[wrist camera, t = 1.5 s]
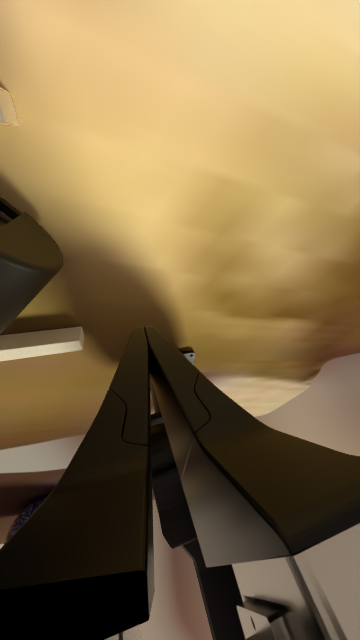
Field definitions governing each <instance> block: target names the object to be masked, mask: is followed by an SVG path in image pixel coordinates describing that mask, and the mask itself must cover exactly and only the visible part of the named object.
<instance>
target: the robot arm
mask: <svg viewBox="0 0 360 640" xmlns="http://www.w3.org/2000/svg"><path fill="white" fill-rule="evenodd" d="M194 359H195V353H194V351H185V352H180V351H179V350H178V349H177V348H176V347H175V346H174V345H173V344H172V343H171V342H170V341H169V340H168V339H167V338H166V337H165V336H164V335H163V334H162V333H161V332H160V331H159V330H157V329H156V328H155V327H154V326H153V325H151V326H145V327H135V328H134V329H133V332H132V334H131V336H130V339H129V341H128V344H127V346H126V348H125V351H124V353H123V356H122V358H121V360H120V363H119V365H118V368H117V370H116V372H115V375H114V377H113V380H112V382H111V384H110V387H109V390H108V391H107V394H106V396H105V399H104V401H103V403H102V405H101V407H100V409H99V412H98V414H97V415H96V417H95V419H94V421H93V423H92V425H91V427H90V429H89V430H88V432H87V434H86V436H85V437H84V439H83V441H82V443H81V445H80V446H79V448H78V450H77V451H76V453H75V455H74V457H73V459H72V460H71V462H70V464H69V466H68V467H67V469H66V471H65V472H64V474H63V476H62V477H61V479H60V480H59V482H58V483H57V485H56V486H55V488H54V489H53V491H52V492H51V493H50V494H49V496H48V497H47V498H46V499H45V500H44V502H43V503H42V504H41V505H40V506H39V507H38V508H37V509H36V510H35V511H34V513H33V514H32V515H31V516H30V517H29V518H28V519H27V520H26V521H25V522H24V524H23V525H22V526H21V527H20V528H19V529H18V530H17V531H16V532H15V534H14V535H13V536H12V537H11V538H10V539H9V540H8V541H7V542H6V543H5V545H4V546H3V547H2V548H1V549H0V640H141V626H140V624H142V623H144V622H146V621H148V620H149V616H150V611H151V606H152V601H153V595H154V591H155V590H154V589H155V588H154V551H153V508H152V507H153V505H152V491H153V493H154V497H155V500H156V504H157V509H158V513H159V517H160V523H161V529H162V533H163V536H164V537H165V539H166V541H167V542H168V544H169V545H170V547H171V548H172V549H175V548H177V547H179V546H181V547H182V548H183V549H184V550H185V551H186V553H187V554H188V555H189V556H190V557H191V558H192V560H193V562H194V566H195V569H196V573H197V577H198V581H199V585H200V589H201V593H202V597H203V601H204V605H205V609H206V614H207V617H208V621H209V626H210V630H211V633H212V638H213V640H360V456H354V455H349V454H345V453H342V452H338V451H335V450H333V449H330V448H327V447H324V446H321V445H318V444H315V443H312V442H309V441H306V440H303V439H300V438H297V437H294V436H292V435H289V434H286V433H283V432H280V431H277V430H274V429H272V428H270V427H268V426H267V425H265V424H263V423H262V422H260V421H259V420H257V419H255V418H254V417H253V416H252V415H251V414H249V413H248V412H247V411H246V410H244V409H243V408H242V407H241V406H239V405H238V404H237V403H236V402H234V401H233V400H232V399H230V398H229V397H228V396H227V395H226V394H224V393H223V392H222V391H221V390H219V389H218V388H217V387H216V386H215V385H214V384H213V383H212V382H211V381H209V380H208V379H207V378H206V377H205V376H204V375H203V374H202V373H201V372H200V371H199V370H198V369H197V368H196V367H195V366H194ZM150 390H151V393H152V398H153V404H154V409H155V414H152V415H150Z"/></svg>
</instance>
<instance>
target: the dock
mask: <svg viewBox="0 0 360 640" xmlns="http://www.w3.org/2000/svg"><path fill="white" fill-rule="evenodd" d="M0 124H3V125H12V126H20V125H19V121H18V118H17V115H16V112H15V108H14V105H13V102H12V99H11V95H10V93H9V92H7V91H6V90H4V89H3V88H1V87H0ZM83 342H84V333H83V330H82V326H81V327H72V328H63V329H54V330H45V331H36V332H26V333H17V334H8V335H0V361H5V360H13V359H20V358H27V357H34V356H42V355H49V354H56V353H63V352H71V351H78V350H82V349H83Z"/></svg>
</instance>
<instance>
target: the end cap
mask: <svg viewBox="0 0 360 640" xmlns="http://www.w3.org/2000/svg"><path fill="white" fill-rule="evenodd" d="M62 265H63V256H62V253H61V251H60V249H59V247H58V245H57V244H56V242H55V241H54V240H53V239H52V237H51V236H50V235H49V234H48V233H47V232H46V231H45V230H44V229H43V227H41V226H40V225H39V224H38V223H37V222H36V221H35V220H34V219H33V218H31V217H30V216H29V215H28V214H26V213H25V212H24V213H23V214H22V213H21V212H20V211H18V210H17V209H16V208H14V207H13V206H12V205H10V204H9V203H8V202H7V201H5V200H4V199H3V198H1V197H0V334H1V333H2V332H3V331H4V330H5V329H6V328H7V327H8V326H9V325H10V324H11V322H12V321H13V320H14V319H15V318H16V317H17V316H18V315H19V314H20V313H21V312H22V310H23V309H24V308H25V307H26V306H27V305H28V304H29V303H30V302H31V301H32V300H33V298H34V297H35V296H36V295H37V294H38V293H39V292H40V291H41V290H42V289H43V288H44V287H45V285H46V284H47V283H48V282H49V281H50V280H51V279H52V278H53V277H54V276H55V275H56V273H57V272H58V271H59V270H60V269H61V268H62Z"/></svg>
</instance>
